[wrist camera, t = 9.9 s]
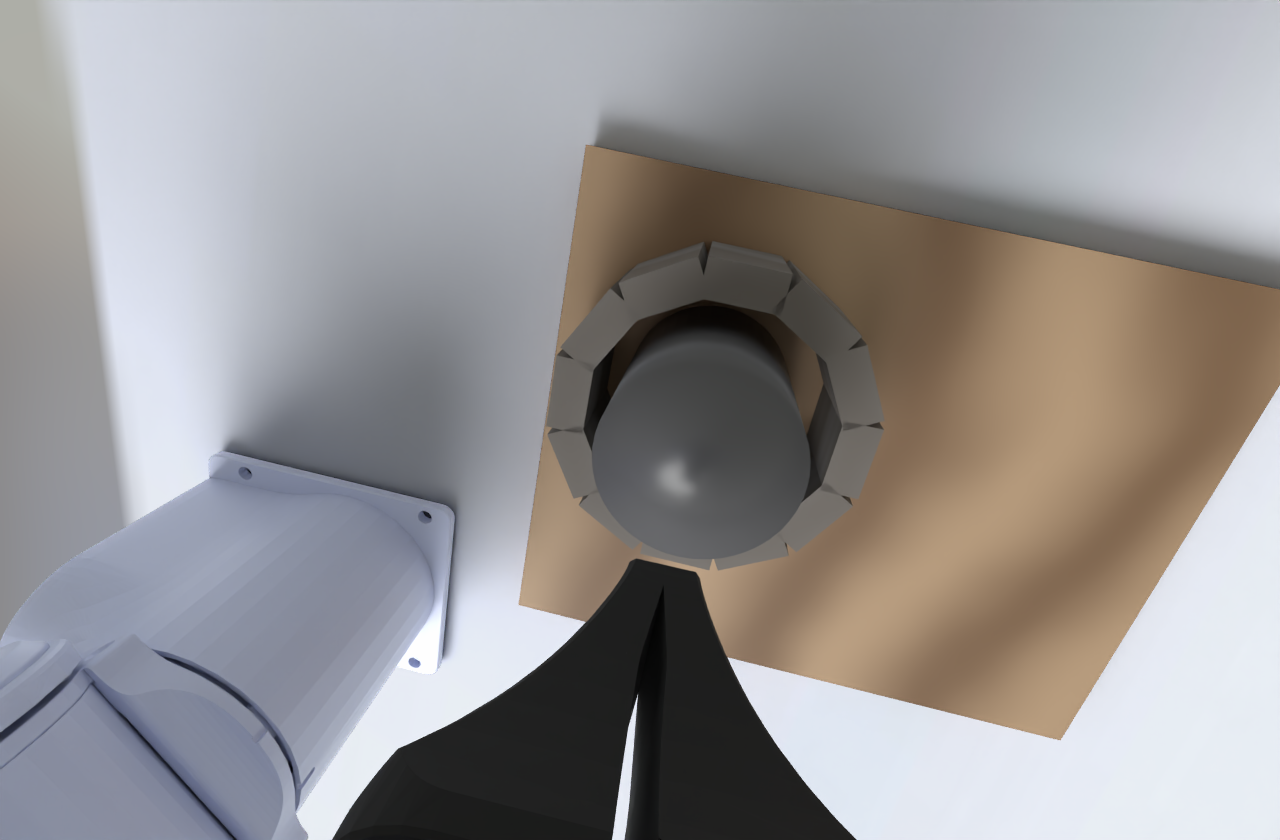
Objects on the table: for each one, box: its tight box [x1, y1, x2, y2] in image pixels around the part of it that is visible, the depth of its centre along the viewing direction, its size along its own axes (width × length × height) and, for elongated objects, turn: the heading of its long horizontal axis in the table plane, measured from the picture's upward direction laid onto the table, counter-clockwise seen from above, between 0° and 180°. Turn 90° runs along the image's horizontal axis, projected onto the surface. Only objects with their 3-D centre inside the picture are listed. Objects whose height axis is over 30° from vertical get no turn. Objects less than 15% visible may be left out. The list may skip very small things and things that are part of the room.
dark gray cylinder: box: [592, 306, 811, 559], centre depth 17 cm, size 5×5×6 cm
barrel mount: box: [519, 145, 1280, 740], centre depth 19 cm, size 20×16×4 cm
